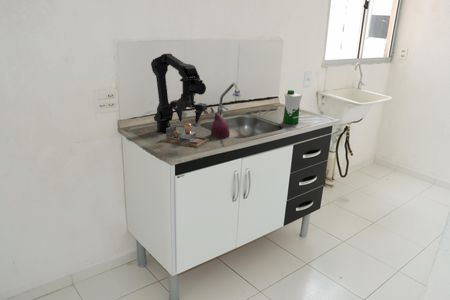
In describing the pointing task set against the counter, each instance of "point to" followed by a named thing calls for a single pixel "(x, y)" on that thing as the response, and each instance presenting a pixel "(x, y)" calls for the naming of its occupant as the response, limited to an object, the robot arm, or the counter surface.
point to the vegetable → (220, 127)
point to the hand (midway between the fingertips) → (188, 122)
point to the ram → (187, 133)
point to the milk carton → (291, 107)
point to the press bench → (173, 137)
